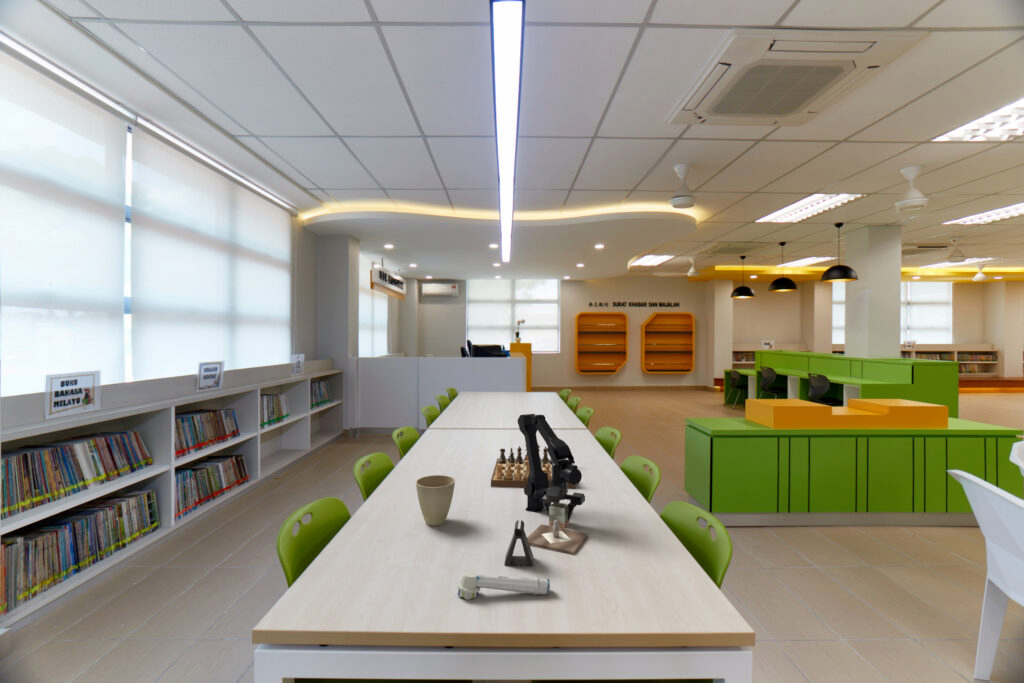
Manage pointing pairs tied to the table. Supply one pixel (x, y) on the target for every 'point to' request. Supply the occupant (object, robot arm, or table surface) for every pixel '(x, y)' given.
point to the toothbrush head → (500, 584)
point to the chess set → (518, 470)
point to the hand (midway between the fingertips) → (559, 518)
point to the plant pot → (435, 497)
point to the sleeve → (558, 514)
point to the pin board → (557, 538)
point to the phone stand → (528, 557)
